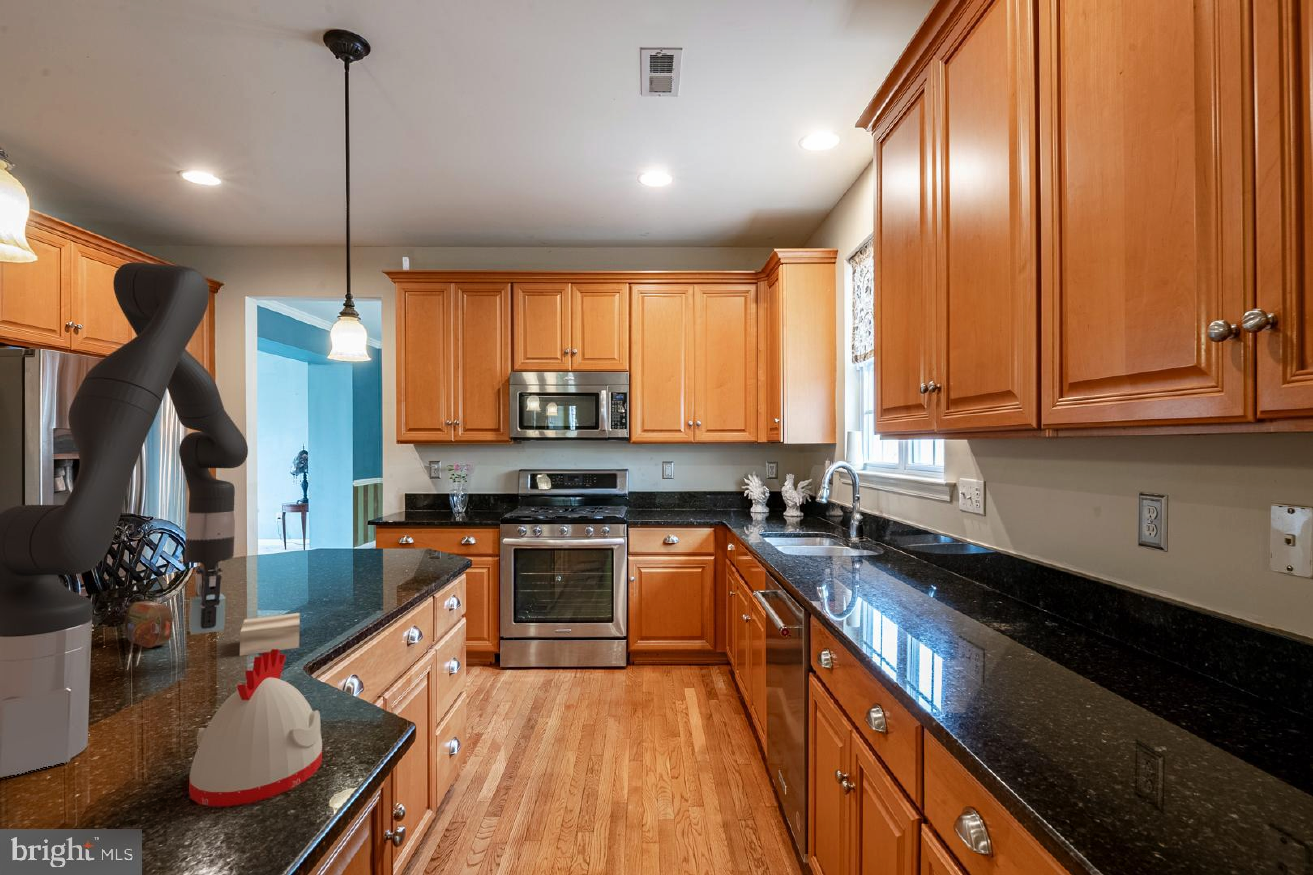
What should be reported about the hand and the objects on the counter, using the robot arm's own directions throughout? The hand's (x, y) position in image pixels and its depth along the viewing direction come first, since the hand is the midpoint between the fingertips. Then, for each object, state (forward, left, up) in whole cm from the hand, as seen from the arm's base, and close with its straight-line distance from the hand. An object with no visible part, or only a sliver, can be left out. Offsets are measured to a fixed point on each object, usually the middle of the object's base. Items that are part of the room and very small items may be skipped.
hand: (206, 624), depth 111 cm
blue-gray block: (0, 0, -1) cm, 1 cm away
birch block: (+4, -11, -8) cm, 14 cm away
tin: (+21, +8, -8) cm, 24 cm away
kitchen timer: (-52, -1, -8) cm, 52 cm away
